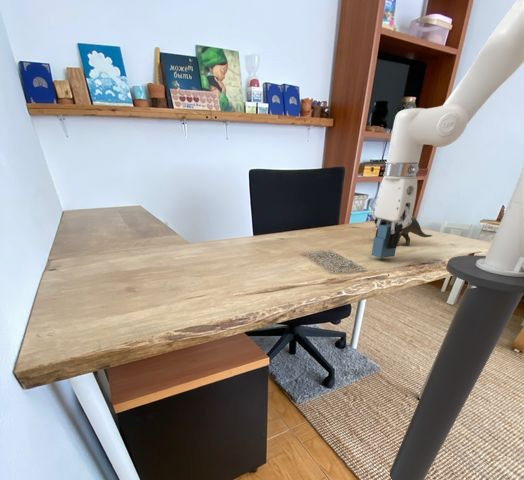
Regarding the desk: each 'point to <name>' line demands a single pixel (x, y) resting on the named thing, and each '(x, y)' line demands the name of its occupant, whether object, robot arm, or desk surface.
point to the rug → (334, 261)
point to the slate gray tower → (382, 242)
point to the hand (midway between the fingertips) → (384, 245)
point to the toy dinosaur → (409, 230)
